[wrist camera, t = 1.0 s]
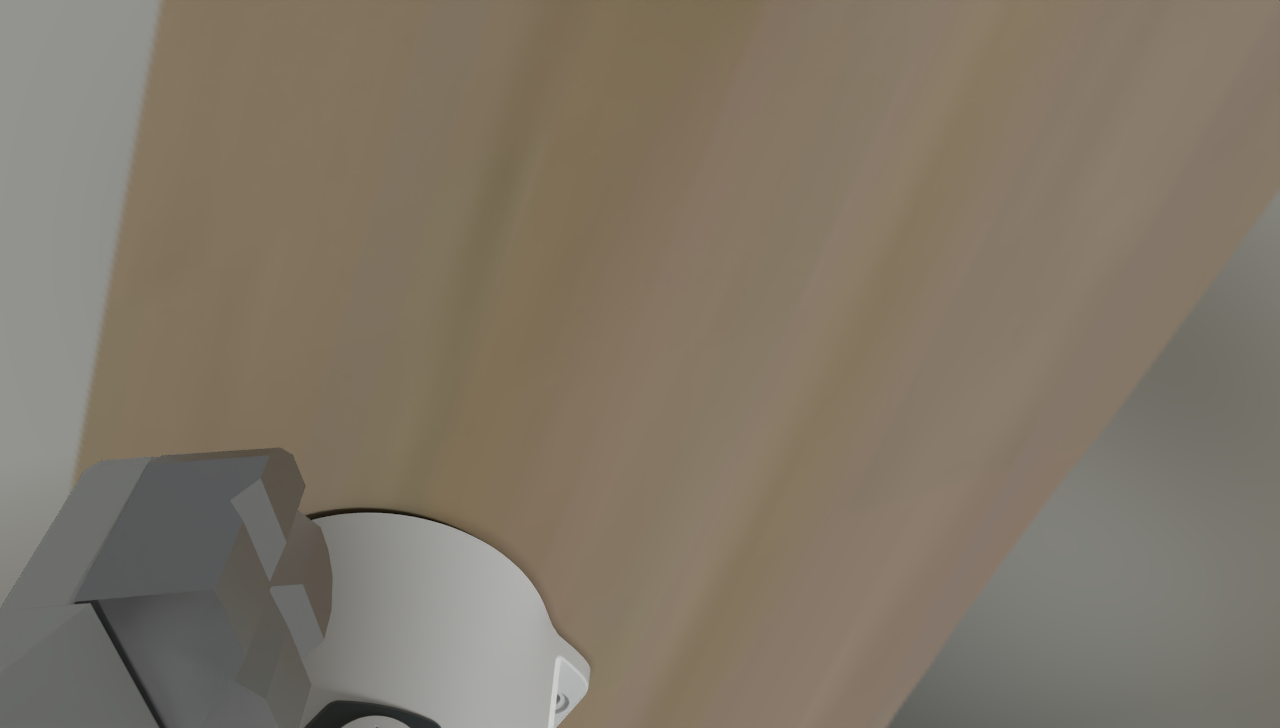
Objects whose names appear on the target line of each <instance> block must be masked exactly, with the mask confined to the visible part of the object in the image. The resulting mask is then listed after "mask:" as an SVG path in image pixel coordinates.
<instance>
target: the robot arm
mask: <svg viewBox="0 0 1280 728" xmlns="http://www.w3.org/2000/svg"><path fill="white" fill-rule="evenodd" d="M304 489H305V483H304V481H303V479H302V476H301V474H300V471H299V469H298V466H297V464H296V461H295V459H294V457H293V455H292V454H291V453H289V452H287V451H285V450H284V449H282V448H266V449H251V450H236V451H221V452H207V453H192V454H177V455H162V456H160V457H142V458H130V459H117V460H105V461H100V462H98V463H96V464H94V465H92V466H91V467H89V468H87V469H85V471H84V472H83V474H82V475H81V477H80V479H79V480H78V482H77V483H76V485H75V487H74V488H73V490H72V492H71V493H70V495H69V497H68V498H67V500H66V501H65V503H64V505H63V506H62V508H61V510H60V511H59V513H58V515H57V516H56V518H55V520H54V521H53V523H52V525H51V526H50V528H49V529H48V531H47V533H46V534H45V536H44V538H43V539H42V541H41V543H40V544H39V546H38V547H37V549H36V551H35V552H34V554H33V556H32V557H31V559H30V561H29V562H28V564H27V566H26V567H25V569H24V571H23V572H22V574H21V575H20V577H19V579H18V580H17V582H16V584H15V585H14V587H13V589H12V590H11V592H10V593H9V595H8V597H7V598H6V600H5V602H4V603H3V605H2V607H1V608H0V728H556V727H557V726H558V725H559V724H560V723H561V722H562V720H563V719H564V718H565V717H566V716H567V715H568V714H569V713H570V711H571V710H572V709H573V708H574V707H575V706H576V705H577V704H578V703H579V701H580V700H581V699H582V698H583V697H584V696H585V694H586V693H587V690H588V686H589V679H590V672H591V671H590V667H589V665H588V663H587V661H586V660H585V659H584V658H583V657H582V656H581V655H580V654H579V653H578V652H577V651H576V650H575V649H574V648H573V647H572V646H571V645H570V644H568V643H567V642H566V641H565V640H564V639H562V638H561V637H560V636H559V635H558V634H557V632H556V631H555V629H554V627H553V625H552V623H551V621H550V619H549V616H548V613H547V611H546V608H545V606H544V603H543V601H542V599H541V597H540V595H539V594H538V592H537V590H536V589H535V587H534V586H533V584H532V583H531V582H530V580H529V579H528V578H527V577H526V575H525V574H524V573H523V572H522V571H521V570H520V569H519V568H518V567H517V566H516V565H515V564H514V563H513V562H512V561H510V560H509V559H508V558H507V557H506V556H504V555H503V554H501V553H500V552H499V551H497V550H496V549H494V548H493V547H491V546H490V545H488V544H486V543H485V542H483V541H481V540H479V539H477V538H475V537H473V536H471V535H469V534H467V533H465V532H462V531H460V530H458V529H455V528H452V527H450V526H447V525H444V524H441V523H437V522H434V521H430V520H426V519H421V518H417V517H411V516H406V515H398V514H388V513H350V514H340V515H333V516H327V517H323V518H318V519H314V520H310V519H309V518H307V517H306V516H305V515H303V514H302V513H301V512H299V511H298V507H299V504H300V501H301V498H302V495H303V492H304Z"/></svg>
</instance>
